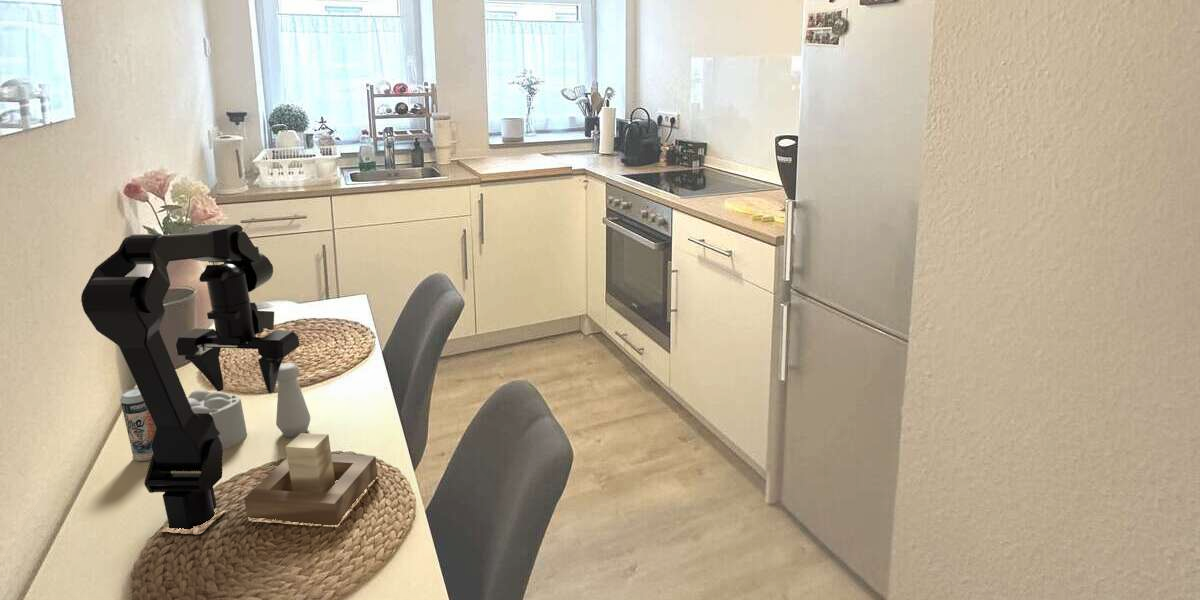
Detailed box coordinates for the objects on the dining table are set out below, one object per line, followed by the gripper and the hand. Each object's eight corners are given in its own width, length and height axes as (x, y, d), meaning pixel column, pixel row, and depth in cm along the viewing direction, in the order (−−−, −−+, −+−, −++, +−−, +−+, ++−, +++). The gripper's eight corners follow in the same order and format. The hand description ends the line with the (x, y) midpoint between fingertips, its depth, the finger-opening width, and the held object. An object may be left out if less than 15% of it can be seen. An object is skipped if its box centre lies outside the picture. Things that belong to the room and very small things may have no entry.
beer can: (129, 464, 135) (114, 399, 132) (137, 452, 140) (123, 388, 136) (161, 460, 136) (147, 395, 133) (167, 447, 141) (154, 384, 137)
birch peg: (322, 508, 121) (313, 448, 118) (295, 506, 121) (285, 446, 118) (336, 492, 125) (328, 434, 122) (309, 490, 126) (300, 432, 123)
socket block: (337, 528, 115) (334, 503, 114) (248, 522, 117) (243, 498, 116) (378, 478, 128) (375, 456, 127) (296, 473, 131) (293, 451, 129)
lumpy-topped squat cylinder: (169, 437, 145) (159, 393, 142) (246, 423, 150) (239, 380, 147) (164, 463, 136) (154, 416, 133) (247, 447, 140) (239, 401, 138)
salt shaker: (300, 441, 142) (290, 372, 138) (271, 438, 143) (260, 371, 139) (318, 426, 147) (308, 360, 143) (290, 424, 148) (279, 358, 144)
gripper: (309, 288, 135) (321, 374, 139) (208, 286, 138) (223, 371, 142) (274, 308, 124) (288, 401, 129) (164, 306, 127) (183, 397, 132)
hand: (246, 391), depth 133 cm, fingers open, 9 cm apart
